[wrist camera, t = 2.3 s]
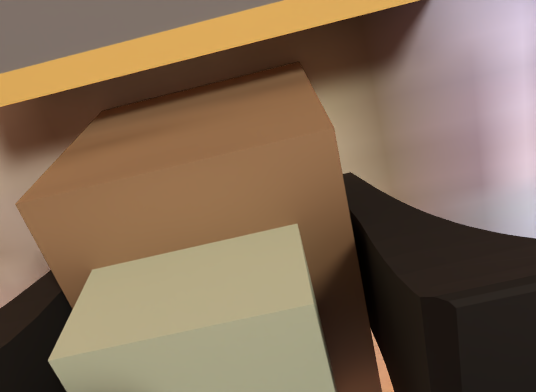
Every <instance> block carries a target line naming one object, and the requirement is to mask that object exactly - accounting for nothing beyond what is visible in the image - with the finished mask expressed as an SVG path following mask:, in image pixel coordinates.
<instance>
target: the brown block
mask: <svg viewBox="0 0 536 392" xmlns="http://www.w3.org/2000/svg"><path fill="white" fill-rule="evenodd" d="M15 205H16V206H17V208H18V210H19V212H20V214H21V216H22V217H23V219H24V221H25V223H26V225H27V227H28V228H29V230H30V232H31V234H32V236H33V238H34V239H35V241H36V243H37V245H38V247H39V249H40V250H41V252H42V254H43V256H44V258H45V260H46V262H47V263H48V265H49V267H50V269H51V271H52V273H53V274H54V276H55V278H56V280H57V282H58V284H59V285H60V287H61V289H62V291H63V293H64V295H65V296H66V298H67V300H68V302H69V304H70V306H71V307H72V309H73V308H74V306H75V304H76V302H77V300H78V298H79V296H80V294H81V292H82V290H83V287H84V285H85V283H86V281H87V279H88V277H89V275H90V273H91V271H92V270H93V269H98V268H102V267H107V266H111V265H115V264H120V263H124V262H129V261H133V260H138V259H142V258H146V257H151V256H155V255H160V254H164V253H169V252H173V251H177V250H182V249H186V248H191V247H195V246H200V245H204V244H209V243H213V242H217V241H222V240H226V239H231V238H235V237H240V236H244V235H248V234H253V233H257V232H262V231H266V230H271V229H275V228H280V227H284V226H288V225H293V224H298V228H299V232H300V236H301V241H302V245H303V249H304V253H305V257H306V261H307V266H308V270H309V274H310V278H311V282H312V287H313V291H314V295H315V299H316V303H317V308H318V312H319V316H320V320H321V324H322V329H323V333H324V337H325V341H326V345H327V349H328V354H329V358H330V362H331V366H332V370H333V375H334V379H335V383H336V387H337V391H338V392H382V389H381V384H380V378H379V373H378V367H377V362H376V356H375V351H374V345H373V340H372V334H371V329H370V323H369V318H368V312H367V307H366V301H365V296H364V290H363V285H362V279H361V274H360V268H359V263H358V257H357V252H356V246H355V241H354V235H353V230H352V224H351V219H350V213H349V208H348V202H347V196H346V191H345V185H344V180H343V174H342V169H341V163H340V158H339V152H338V147H337V141H336V136H335V130H334V127H333V125H332V123H331V121H330V119H329V117H328V115H327V114H326V112H325V110H324V108H323V106H322V104H321V102H320V100H319V98H318V97H317V95H316V93H315V91H314V89H313V87H312V85H311V83H310V82H309V80H308V78H307V76H306V74H305V72H304V70H303V68H302V67H301V65H300V63H299V62H296V63H292V64H288V65H284V66H280V67H276V68H272V69H268V70H264V71H260V72H256V73H252V74H248V75H244V76H240V77H236V78H232V79H228V80H224V81H220V82H216V83H212V84H208V85H204V86H200V87H196V88H192V89H188V90H184V91H180V92H176V93H172V94H168V95H164V96H160V97H156V98H152V99H148V100H144V101H140V102H136V103H132V104H128V105H124V106H120V107H116V108H112V109H108V110H104V111H102V112H101V113H100V114H99V115H98V116H97V117H96V118H95V119H94V120H93V121H92V122H91V123H90V124H89V125H88V127H87V128H86V129H85V130H84V131H83V132H82V133H81V134H80V135H79V136H78V137H77V138H76V139H75V141H74V142H73V143H72V144H71V145H70V146H69V147H68V148H67V149H66V150H65V151H64V152H63V153H62V154H61V156H60V157H59V158H58V159H57V160H56V161H55V162H54V163H53V164H52V165H51V166H50V167H49V168H48V169H47V171H46V172H45V173H44V174H43V175H42V176H41V177H40V178H39V179H38V180H37V181H36V182H35V183H34V184H33V186H32V187H31V188H30V189H29V190H28V191H27V192H26V193H25V194H24V195H23V196H22V197H21V198H20V199H19V201H18V202H17V203H16V204H15Z"/></svg>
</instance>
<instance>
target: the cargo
mask: <svg viewBox="0 0 536 392" xmlns="http://www.w3.org/2000/svg"><path fill="white" fill-rule="evenodd" d="M48 362H49V364H50V365H51V367H52V368H53V370H54V372H55V373H56V375H57V377H58V378H59V380H60V382H61V383H62V385H63V386H64V388H65V390H66V391H67V392H338V391H337V387H336V383H335V379H334V375H333V370H332V366H331V362H330V358H329V354H328V349H327V345H326V341H325V337H324V333H323V329H322V324H321V320H320V316H319V312H318V308H317V303H316V299H315V295H314V291H313V287H312V282H311V278H310V274H309V270H308V266H307V261H306V257H305V253H304V249H303V245H302V241H301V236H300V232H299V228H298V224H293V225H288V226H284V227H280V228H275V229H271V230H266V231H262V232H257V233H253V234H248V235H244V236H240V237H235V238H231V239H226V240H222V241H217V242H213V243H209V244H204V245H200V246H195V247H191V248H186V249H182V250H177V251H173V252H169V253H164V254H160V255H155V256H151V257H146V258H142V259H138V260H133V261H129V262H124V263H120V264H115V265H111V266H107V267H102V268H98V269H93V270H92V271H91V273H90V275H89V277H88V279H87V281H86V283H85V285H84V287H83V290H82V292H81V294H80V296H79V298H78V300H77V302H76V304H75V306H74V308H73V310H72V312H71V314H70V316H69V318H68V320H67V322H66V324H65V326H64V328H63V330H62V333H61V335H60V337H59V339H58V341H57V343H56V345H55V347H54V349H53V351H52V353H51V355H50V357H49V359H48Z"/></svg>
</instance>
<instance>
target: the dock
mask: <svg viewBox="0 0 536 392" xmlns="http://www.w3.org/2000/svg"><path fill="white" fill-rule="evenodd" d="M415 1H419V0H0V107H2V106H6V105H10V104H14V103H18V102H22V101H25V100H29V99H33V98H37V97H41V96H45V95H49V94H53V93H57V92H61V91H65V90H69V89H73V88H77V87H81V86H84V85H88V84H92V83H96V82H100V81H104V80H108V79H112V78H116V77H120V76H124V75H128V74H132V73H136V72H140V71H143V70H147V69H151V68H155V67H159V66H163V65H167V64H171V63H175V62H179V61H183V60H187V59H191V58H195V57H199V56H202V55H206V54H210V53H214V52H218V51H222V50H226V49H230V48H234V47H238V46H242V45H246V44H250V43H254V42H258V41H261V40H265V39H269V38H273V37H277V36H281V35H285V34H289V33H293V32H297V31H301V30H305V29H309V28H313V27H317V26H320V25H324V24H328V23H332V22H336V21H340V20H344V19H348V18H352V17H356V16H360V15H364V14H368V13H372V12H376V11H380V10H383V9H387V8H391V7H395V6H399V5H403V4H407V3H411V2H415Z"/></svg>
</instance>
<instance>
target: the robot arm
mask: <svg viewBox="0 0 536 392" xmlns="http://www.w3.org/2000/svg"><path fill="white" fill-rule="evenodd" d="M343 180H344V185H345V191H346V196H347V202H348V208H349V213H350V219H351V224H352V230H353V235H354V241H355V246H356V252H357V257H358V263H359V268H360V274H361V279H362V285H363V290H364V296H365V301H366V307H367V312H368V318H369V323H370V328H371V330H372V333H373V335H374V337H375V339H376V342H377V344H378V346H379V348H380V351H381V354H382V356H383V359H384V361H385V364H386V367H387V370H388V373H389V376H390V379H391V382H392V385H393V389H394V392H536V239H535V238H527V237H520V236H513V235H507V234H501V233H496V232H491V231H487V230H482V229H478V228H474V227H469V226H466V225H462V224H458V223H455V222H452V221H449V220H446V219H443V218H440V217H437V216H434V215H431V214H428V213H426V212H423V211H421V210H418V209H416V208H414V207H412V206H410V205H407V204H405V203H403V202H401V201H399V200H397V199H395V198H393V197H391V196H389V195H387V194H386V193H384V192H382V191H380V190H379V189H377V188H375V187H373V186H372V185H370V184H369V183H367V182H365V181H364V180H362V179H361V178H359V177H357V176H356V175H354V174H353V173H351V172H350V173H346V174H343ZM72 310H73V309H72V307H71V306H70V304H69V302H68V300H67V298H66V296H65V295H64V293H63V291H62V289H61V287H60V285H59V284H58V282H57V280H56V278H55V276H54V274H53V273H52V271H51V270H50V271H49V272H48V273H47V274H45V275H44V276H43V277H42V278H40V279H39V280H38V281H36V282H35V283H34V284H32V285H31V286H30V287H28V288H27V289H26V290H25V291H23V292H22V293H21V294H19V295H18V296H17V297H15V298H14V299H13V300H12V301H10V302H9V303H7V304H6V305H5V306H3V307H2V308H0V392H67V391H66V390H65V388H64V386H63V385H62V383H61V382H60V380H59V378H58V377H57V375H56V373H55V372H54V370H53V368H52V367H51V365H50V364H49V362H48V359H49V357H50V355H51V353H52V351H53V349H54V347H55V345H56V343H57V341H58V339H59V337H60V335H61V333H62V330H63V328H64V326H65V324H66V322H67V320H68V318H69V316H70V314H71V312H72Z"/></svg>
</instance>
